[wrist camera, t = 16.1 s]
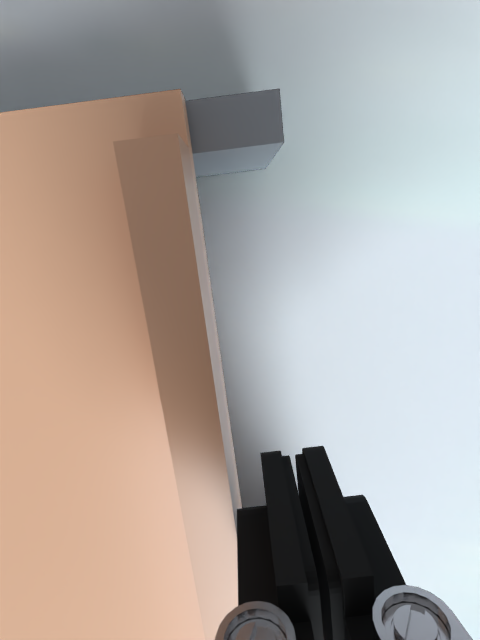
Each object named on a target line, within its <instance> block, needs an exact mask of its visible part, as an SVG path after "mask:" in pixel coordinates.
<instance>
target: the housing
mask: <svg viewBox="0 0 480 640" xmlns="http://www.w3.org/2000/svg"><path fill="white" fill-rule="evenodd" d="M185 103H186V110H187V118H188V125H189V132H190V139H191V146H192V153H193V161H194V168H195V175H196V177H203V176H211V175H219V174H227V173H234V172H242V171H250V170H258V169H266V167H267V166H268V165H269V163H270V162H271V160H272V159H273V157H274V156H275V154H276V153H277V152H278V150H279V149H280V147H281V146H282V144H283V143H284V135H283V123H282V112H281V100H280V89H272V90H265V91H257V92H249V93H242V94H234V95H226V96H219V97H211V98H203V99H196V100H188V101H185Z"/></svg>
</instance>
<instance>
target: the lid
mask: <svg viewBox="0 0 480 640" xmlns="http://www.w3.org/2000/svg"><path fill="white" fill-rule="evenodd" d="M241 508H242V504H241V497H240V490H239V482H238V475H237V468H236V461H235V454H234V447H233V439H232V432H231V425H230V418H229V411H228V404H227V397H226V389H225V382H224V375H223V368H222V361H221V354H220V346H219V339H218V332H217V325H216V318H215V311H214V304H213V296H212V289H211V282H210V275H209V268H208V261H207V254H206V246H205V239H204V232H203V225H202V218H201V211H200V203H199V196H198V189H197V182H196V175H195V168H194V161H193V153H192V146H191V139H190V132H189V125H188V118H187V110H186V103H185V98H184V96H183V94H182V91H181V89H176V90H168V91H161V92H153V93H145V94H138V95H130V96H122V97H115V98H107V99H99V100H92V101H84V102H77V103H69V104H61V105H54V106H46V107H38V108H31V109H23V110H16V111H8V112H0V640H215V637H216V634H217V631H218V628H219V625H220V623H221V622H222V621H223V619H224V618H225V616H226V615H227V614H228V613H229V612H230V611H232V610H233V609H234V608H235V607H237V606H238V563H237V509H241Z"/></svg>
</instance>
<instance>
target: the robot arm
mask: <svg viewBox="0 0 480 640" xmlns="http://www.w3.org/2000/svg"><path fill="white" fill-rule="evenodd" d="M295 459H296V470H297V481H298V490H297V486H296V482H295V477H294V473H293V469H292V465H291V460H290V456H282V455H281V451H273V452H265V453H261V462H262V470H263V479H264V487H265V496H266V504H267V506H259V507H250V508H241V509H237V563H238V606H237V607H235V608H234V609H233V610H232V611H230V612H229V613H228V614H227V615H226V616H225V618H224V619H223V621H222V622H221V623H220V625H219V628H218V631H217V634H216V637H215V640H473V639H472V638H471V636H470V635H469V634H468V632H467V631H466V630H465V628H464V627H463V625H462V624H461V623H460V621H459V620H458V618H457V617H456V616H455V614H454V613H453V611H452V610H451V609H450V608H449V607H448V606H447V605H446V604H445V603H444V602H443V601H442V600H441V599H440V598H438V597H437V596H435V595H434V594H432V593H431V592H429V591H426V590H424V589H421V588H419V587H414V586H408V585H406V584H405V581H404V579H403V577H402V575H401V573H400V571H399V568H398V566H397V564H396V562H395V560H394V558H393V556H392V553H391V551H390V549H389V547H388V545H387V543H386V541H385V538H384V536H383V534H382V532H381V530H380V528H379V525H378V523H377V521H376V519H375V517H374V515H373V513H372V510H371V508H370V506H369V504H368V502H367V500H366V498H365V497H364V496H363V495H357V496H348V497H343V495H342V493H341V490H340V487H339V485H338V482H337V480H336V477H335V475H334V472H333V469H332V467H331V464H330V462H329V459H328V456H327V454H326V451H325V449H324V447H323V446H318V447H309V448H303V449H302V454H297V455H295ZM298 492H299V494H298Z"/></svg>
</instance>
